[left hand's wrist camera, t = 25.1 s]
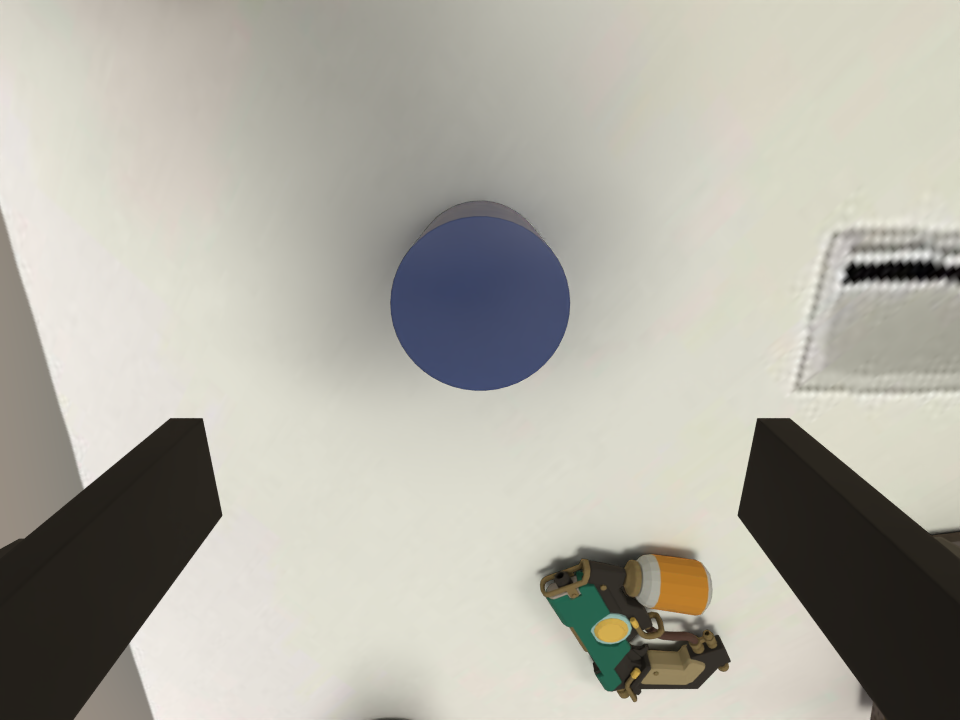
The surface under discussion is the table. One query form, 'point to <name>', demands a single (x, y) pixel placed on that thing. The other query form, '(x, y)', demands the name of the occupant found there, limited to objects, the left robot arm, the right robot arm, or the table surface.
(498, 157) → the table surface
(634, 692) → the spray gun
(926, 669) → the left robot arm
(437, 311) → the can
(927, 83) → the table surface
